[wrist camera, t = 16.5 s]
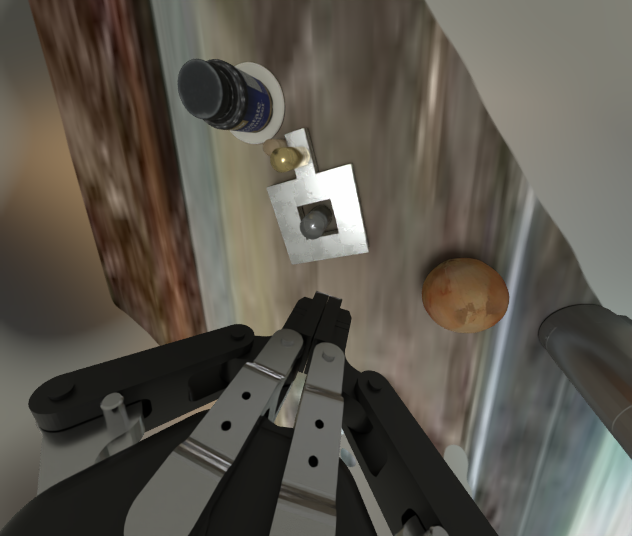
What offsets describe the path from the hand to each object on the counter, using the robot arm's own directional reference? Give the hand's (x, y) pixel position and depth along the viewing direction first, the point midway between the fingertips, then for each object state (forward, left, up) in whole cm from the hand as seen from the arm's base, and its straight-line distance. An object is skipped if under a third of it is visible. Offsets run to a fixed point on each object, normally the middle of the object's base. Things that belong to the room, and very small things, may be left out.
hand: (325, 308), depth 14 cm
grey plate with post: (+6, -2, -25) cm, 26 cm away
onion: (-13, +11, -26) cm, 31 cm away
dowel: (+10, -9, -25) cm, 28 cm away
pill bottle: (+14, -14, -25) cm, 31 cm away
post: (+6, +1, -25) cm, 26 cm away
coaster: (+14, -14, -25) cm, 32 cm away
